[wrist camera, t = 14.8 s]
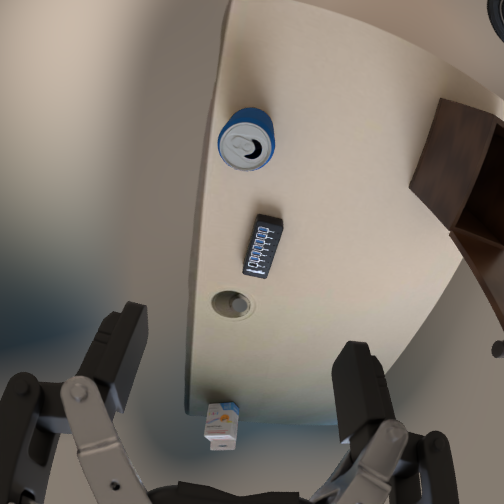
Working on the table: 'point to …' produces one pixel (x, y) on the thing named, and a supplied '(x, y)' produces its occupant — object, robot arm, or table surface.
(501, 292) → the lid
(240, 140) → the beverage can
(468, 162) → the bin
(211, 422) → the white cardboard box
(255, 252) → the multiport hub
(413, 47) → the table surface
